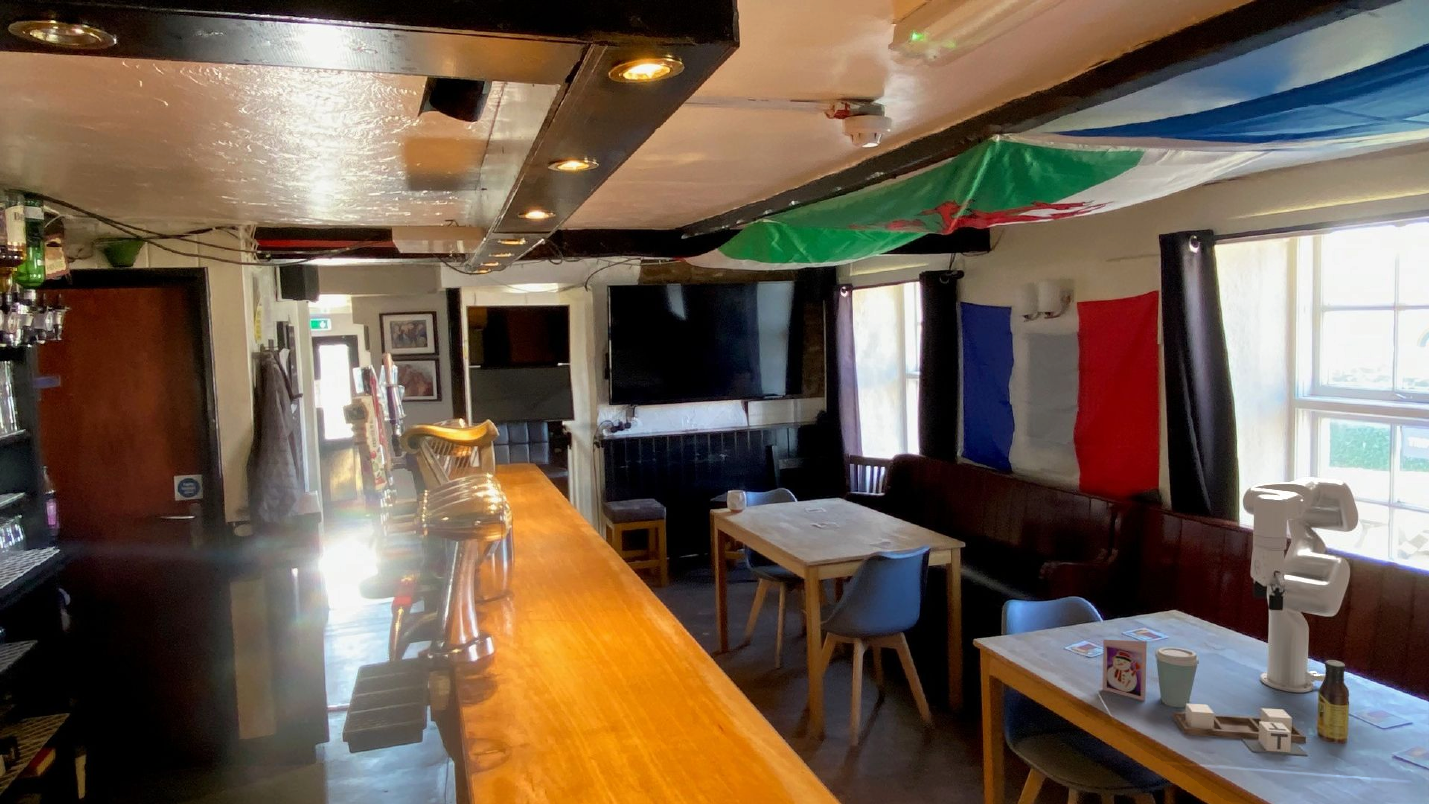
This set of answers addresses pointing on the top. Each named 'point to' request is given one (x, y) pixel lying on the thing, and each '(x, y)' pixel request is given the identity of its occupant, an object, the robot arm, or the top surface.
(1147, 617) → the top surface
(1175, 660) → the disposable coffee cup
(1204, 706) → the blank cube
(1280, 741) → the lettered cube
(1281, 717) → the blank cube
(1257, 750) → the slate mat
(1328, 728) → the sauce bottle
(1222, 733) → the organizer
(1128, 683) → the greeting card
